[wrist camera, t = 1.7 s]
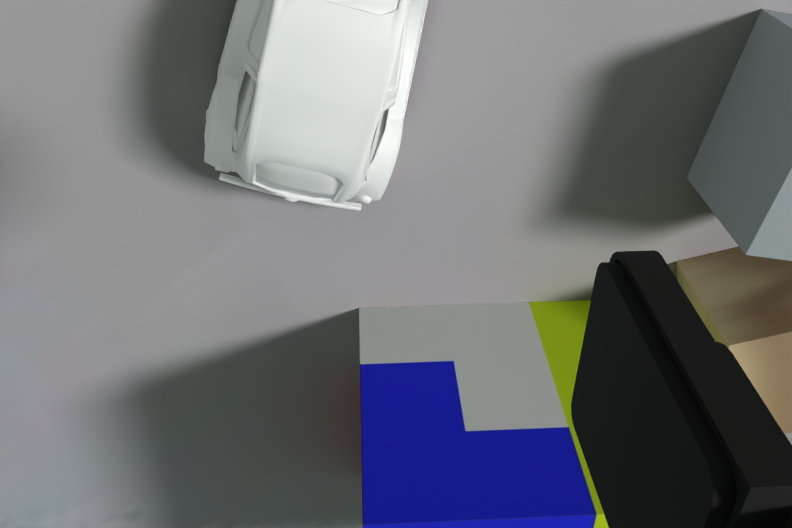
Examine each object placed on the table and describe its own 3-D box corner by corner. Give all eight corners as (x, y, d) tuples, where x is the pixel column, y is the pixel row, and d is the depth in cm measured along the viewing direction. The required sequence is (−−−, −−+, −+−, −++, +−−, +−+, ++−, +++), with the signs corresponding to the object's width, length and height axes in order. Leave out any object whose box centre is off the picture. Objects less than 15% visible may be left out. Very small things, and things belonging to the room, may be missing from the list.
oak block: (808, 228, 29) (885, 310, 25) (802, 327, 31) (870, 415, 27) (675, 260, 29) (728, 345, 25) (680, 354, 32) (729, 445, 28)
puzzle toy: (359, 306, 30) (362, 524, 21) (612, 298, 30) (711, 509, 22) (365, 476, 35) (370, 700, 27) (578, 467, 36) (646, 685, 28)
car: (378, 195, 27) (383, 271, 23) (201, 156, 26) (176, 229, 22) (493, -177, 21) (526, -157, 17) (266, -252, 19) (246, -251, 16)
